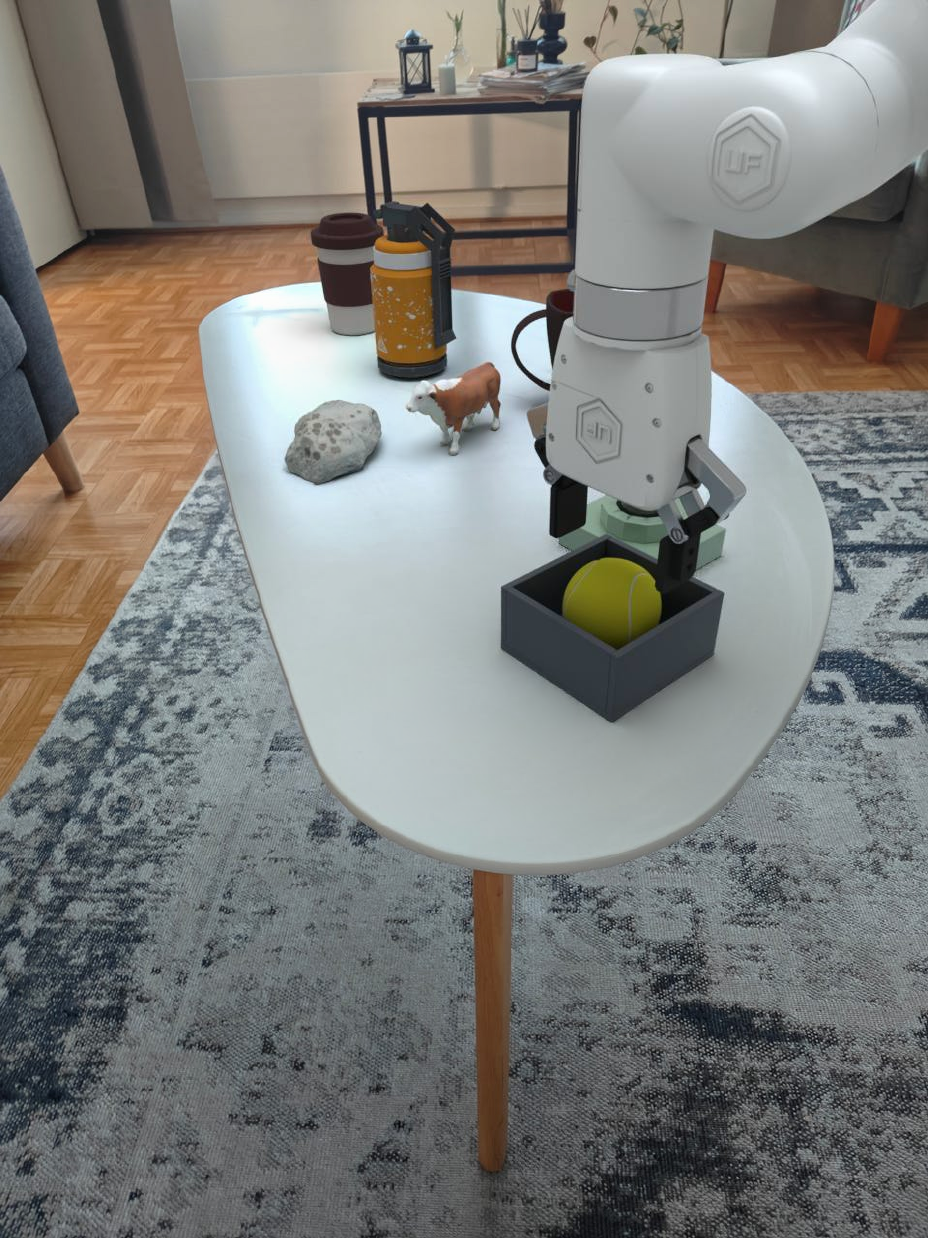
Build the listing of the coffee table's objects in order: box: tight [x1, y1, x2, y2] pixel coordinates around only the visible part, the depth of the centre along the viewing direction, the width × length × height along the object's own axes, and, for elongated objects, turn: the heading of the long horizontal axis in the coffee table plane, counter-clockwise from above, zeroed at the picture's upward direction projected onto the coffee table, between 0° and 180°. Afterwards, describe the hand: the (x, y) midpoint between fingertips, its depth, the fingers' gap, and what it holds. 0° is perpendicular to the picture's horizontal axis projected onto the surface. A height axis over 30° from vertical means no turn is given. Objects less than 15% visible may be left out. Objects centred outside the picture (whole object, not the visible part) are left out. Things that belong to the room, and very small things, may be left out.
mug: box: [510, 288, 574, 392], centre depth 102 cm, size 10×14×12 cm
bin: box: [500, 534, 725, 723], centre depth 66 cm, size 11×11×6 cm
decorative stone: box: [284, 399, 383, 485], centre depth 94 cm, size 12×11×5 cm
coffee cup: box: [310, 212, 385, 336], centre depth 126 cm, size 10×10×15 cm
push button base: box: [558, 494, 727, 571], centre depth 78 cm, size 11×9×4 cm
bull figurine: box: [405, 361, 502, 456], centre depth 96 cm, size 4×13×8 cm, turn 139°
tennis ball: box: [562, 558, 662, 650], centre depth 65 cm, size 7×7×7 cm
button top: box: [620, 501, 659, 518], centre depth 76 cm, size 4×4×2 cm
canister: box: [370, 200, 457, 379], centre depth 110 cm, size 9×11×20 cm
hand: (618, 556), depth 62 cm, fingers open, 9 cm apart
